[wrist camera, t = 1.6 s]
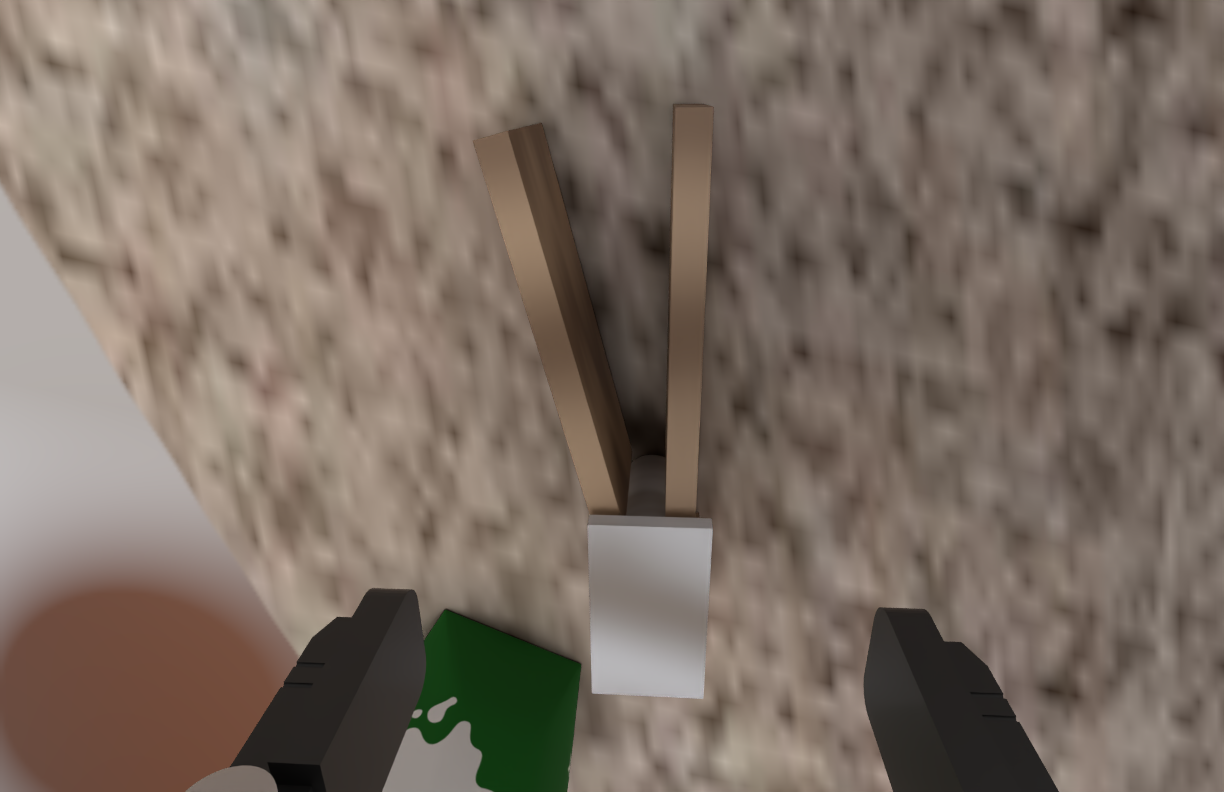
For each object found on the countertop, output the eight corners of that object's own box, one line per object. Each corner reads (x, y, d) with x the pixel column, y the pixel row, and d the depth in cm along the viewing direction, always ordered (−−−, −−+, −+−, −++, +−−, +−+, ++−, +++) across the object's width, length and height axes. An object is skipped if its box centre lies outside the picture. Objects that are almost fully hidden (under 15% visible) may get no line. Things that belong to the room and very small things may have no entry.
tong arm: (686, 499, 30) (691, 586, 24) (624, 510, 30) (615, 598, 25) (589, 109, 24) (567, 114, 19) (513, 130, 24) (472, 140, 19)
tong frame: (695, 577, 32) (703, 698, 25) (606, 574, 32) (591, 693, 26) (717, 103, 24) (736, 107, 18) (600, 105, 24) (576, 109, 18)
